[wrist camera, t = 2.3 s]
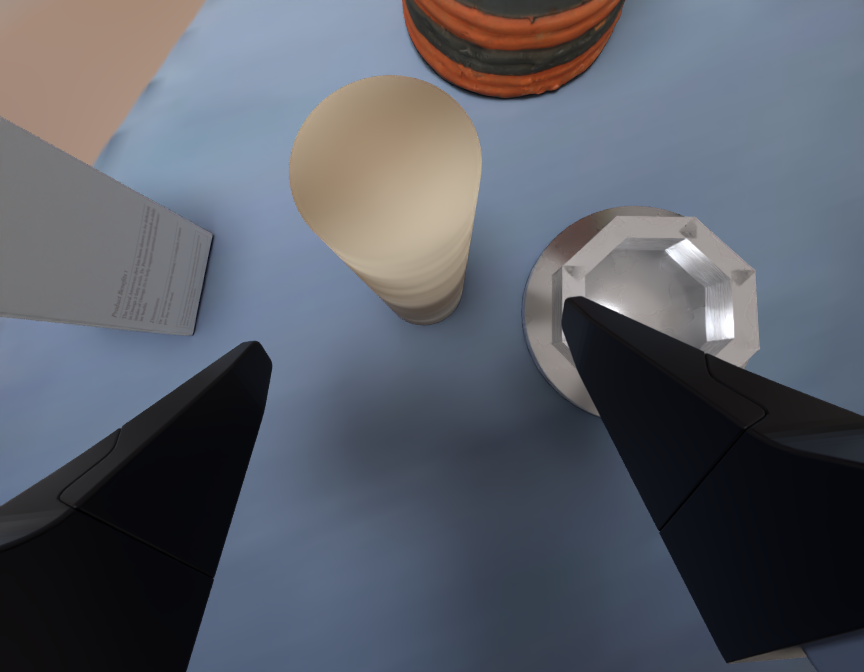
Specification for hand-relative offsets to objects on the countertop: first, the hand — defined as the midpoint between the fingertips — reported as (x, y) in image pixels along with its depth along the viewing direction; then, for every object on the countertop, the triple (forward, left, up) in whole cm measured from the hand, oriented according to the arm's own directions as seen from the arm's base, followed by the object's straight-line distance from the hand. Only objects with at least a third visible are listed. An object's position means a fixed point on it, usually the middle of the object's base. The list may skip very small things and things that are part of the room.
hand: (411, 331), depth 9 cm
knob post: (+3, -2, -11) cm, 12 cm away
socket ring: (-7, -10, -11) cm, 16 cm away
